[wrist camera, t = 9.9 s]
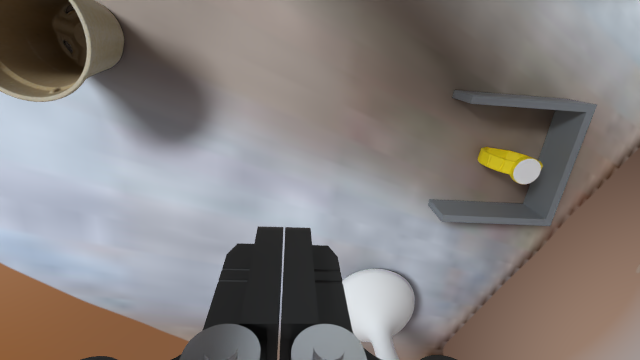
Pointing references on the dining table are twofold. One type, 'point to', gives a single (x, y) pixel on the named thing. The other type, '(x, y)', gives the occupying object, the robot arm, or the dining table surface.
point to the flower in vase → (378, 307)
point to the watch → (511, 164)
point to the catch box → (554, 157)
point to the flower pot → (54, 46)
